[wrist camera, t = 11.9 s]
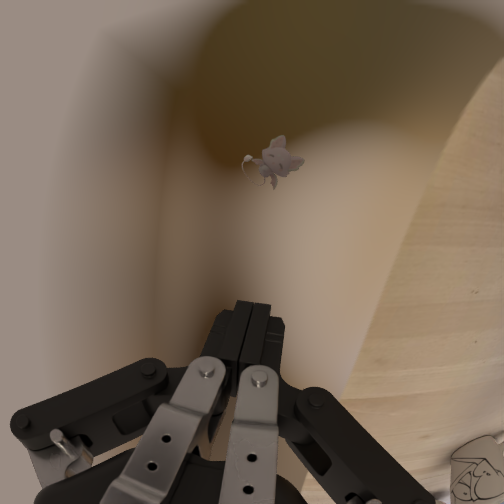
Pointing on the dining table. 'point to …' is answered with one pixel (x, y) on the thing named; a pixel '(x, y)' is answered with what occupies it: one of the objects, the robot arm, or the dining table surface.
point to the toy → (276, 161)
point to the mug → (478, 473)
